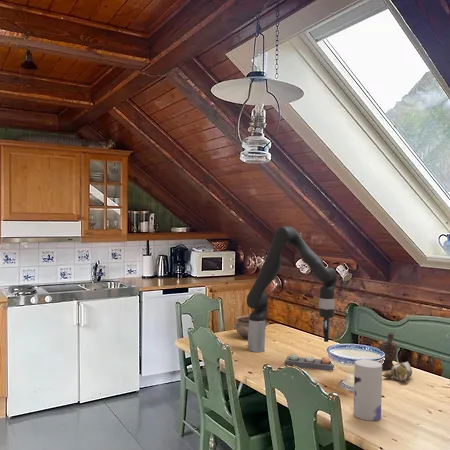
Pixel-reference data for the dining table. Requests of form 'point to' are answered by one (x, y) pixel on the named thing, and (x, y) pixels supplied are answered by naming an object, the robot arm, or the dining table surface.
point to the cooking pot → (243, 326)
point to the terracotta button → (325, 360)
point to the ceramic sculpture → (399, 371)
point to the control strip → (309, 364)
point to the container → (367, 389)
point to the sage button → (294, 357)
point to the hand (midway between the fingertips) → (326, 341)
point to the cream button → (310, 359)
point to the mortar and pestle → (388, 351)
